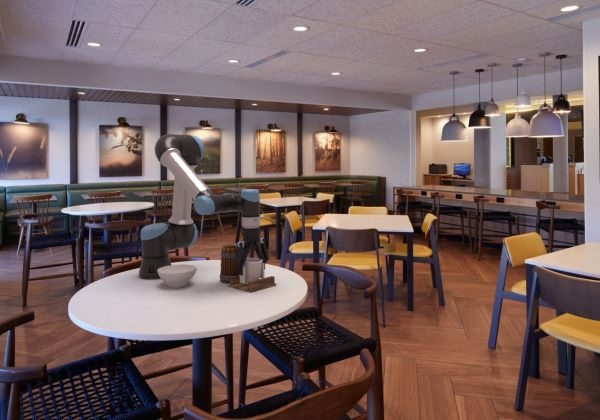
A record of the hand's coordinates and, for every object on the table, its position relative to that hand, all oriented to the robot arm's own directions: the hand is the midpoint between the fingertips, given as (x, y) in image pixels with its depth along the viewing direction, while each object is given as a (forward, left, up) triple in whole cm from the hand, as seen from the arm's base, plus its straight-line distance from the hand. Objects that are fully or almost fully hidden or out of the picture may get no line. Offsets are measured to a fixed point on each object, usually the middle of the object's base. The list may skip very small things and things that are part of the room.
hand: (252, 280), depth 183 cm
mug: (-15, +2, -3) cm, 15 cm away
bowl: (-25, -20, -3) cm, 32 cm away
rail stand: (0, 0, -2) cm, 2 cm away
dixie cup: (0, 0, -2) cm, 2 cm away
